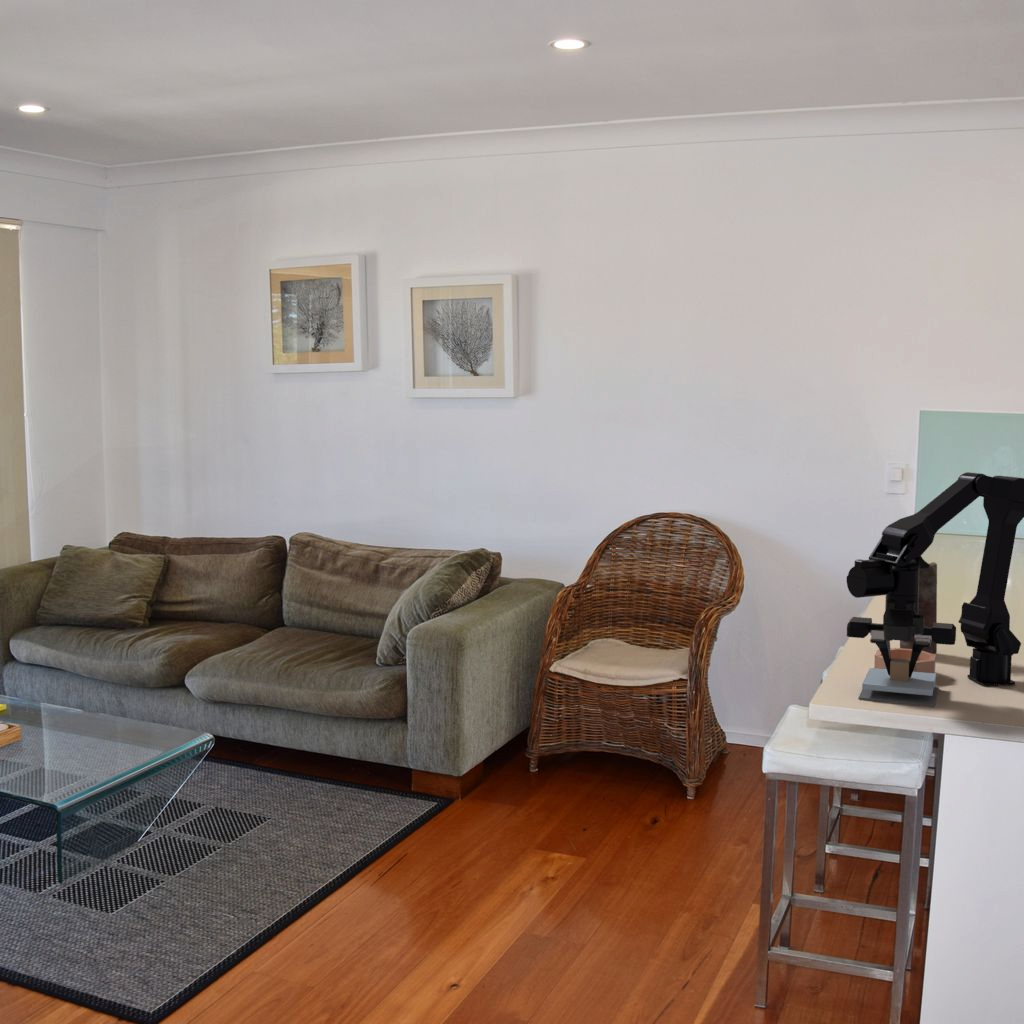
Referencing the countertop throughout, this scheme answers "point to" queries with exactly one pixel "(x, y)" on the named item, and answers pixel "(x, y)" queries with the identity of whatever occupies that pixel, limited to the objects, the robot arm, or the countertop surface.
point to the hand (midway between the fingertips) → (899, 676)
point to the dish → (923, 662)
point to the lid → (899, 679)
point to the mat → (900, 697)
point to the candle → (926, 603)
